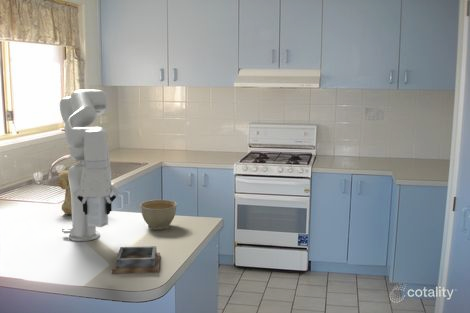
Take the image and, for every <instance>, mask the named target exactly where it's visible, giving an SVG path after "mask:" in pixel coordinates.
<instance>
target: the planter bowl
mask: <svg viewBox="0 0 470 313" xmlns="http://www.w3.org/2000/svg"><path fill="white" fill-rule="evenodd" d="M177 206H178V205H177V202H176V201H173V200H169V199H151V200H147V201H143V202H142V203H140V209H141V215H142V218H143V220H144V221H145V224H147V225H148V228H149V229H151V230H156V231H161V230H167V229H168V228H170V225H171V223H172V222H173V220H174V219H175V216H176V211H177Z"/></svg>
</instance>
